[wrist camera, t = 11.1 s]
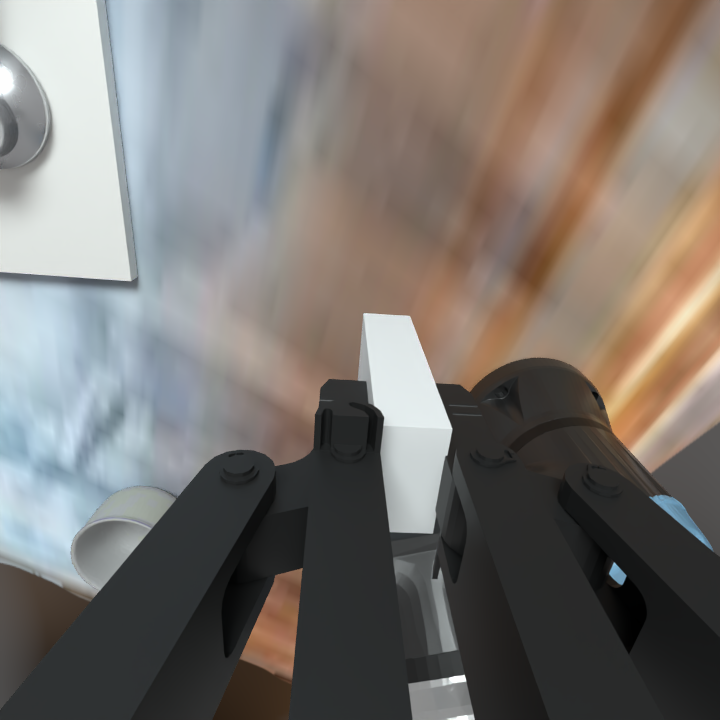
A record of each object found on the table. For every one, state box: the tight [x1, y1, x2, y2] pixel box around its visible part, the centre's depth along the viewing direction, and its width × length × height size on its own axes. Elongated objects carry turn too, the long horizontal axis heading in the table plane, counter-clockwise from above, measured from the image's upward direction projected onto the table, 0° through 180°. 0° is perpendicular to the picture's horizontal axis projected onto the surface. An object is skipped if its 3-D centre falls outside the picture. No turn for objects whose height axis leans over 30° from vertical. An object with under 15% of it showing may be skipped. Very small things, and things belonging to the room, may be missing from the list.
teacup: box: [71, 486, 176, 591], centre depth 52 cm, size 14×11×8 cm
